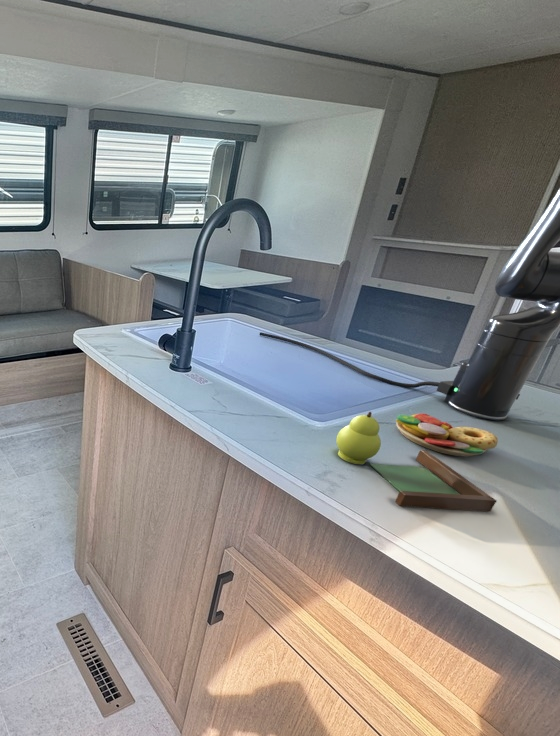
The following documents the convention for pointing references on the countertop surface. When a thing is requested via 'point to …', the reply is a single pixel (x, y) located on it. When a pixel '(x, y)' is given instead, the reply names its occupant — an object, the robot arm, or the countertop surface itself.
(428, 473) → the corner fence
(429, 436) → the toy food set
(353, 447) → the pear
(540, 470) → the countertop surface
